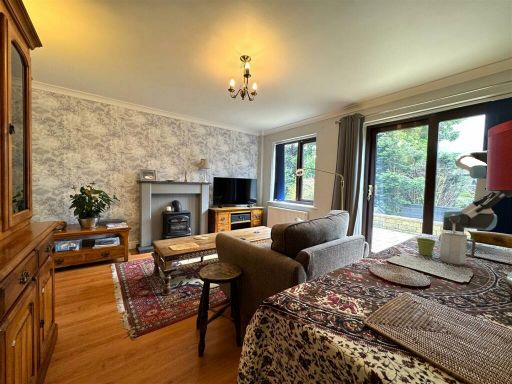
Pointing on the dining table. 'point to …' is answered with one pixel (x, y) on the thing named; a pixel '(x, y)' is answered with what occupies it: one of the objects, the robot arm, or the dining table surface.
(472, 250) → the press carafe
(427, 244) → the plant pot
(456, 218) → the plunger
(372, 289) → the dining table surface
